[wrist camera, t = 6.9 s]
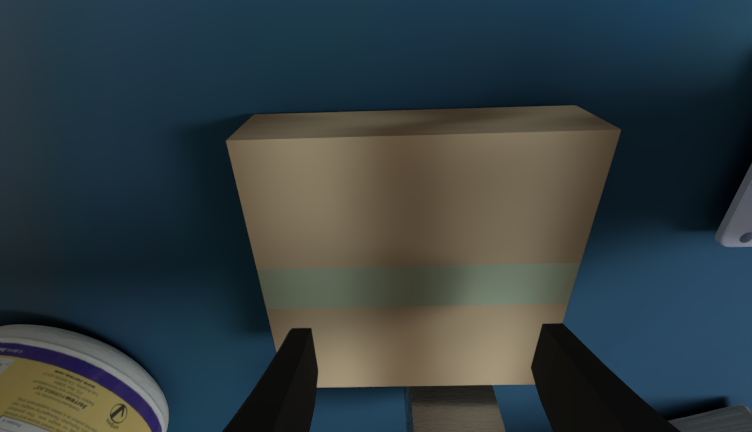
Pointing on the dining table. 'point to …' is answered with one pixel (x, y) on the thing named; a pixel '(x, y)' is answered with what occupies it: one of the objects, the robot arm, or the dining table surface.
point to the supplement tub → (73, 385)
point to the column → (452, 409)
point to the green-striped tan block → (421, 234)
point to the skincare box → (717, 420)
